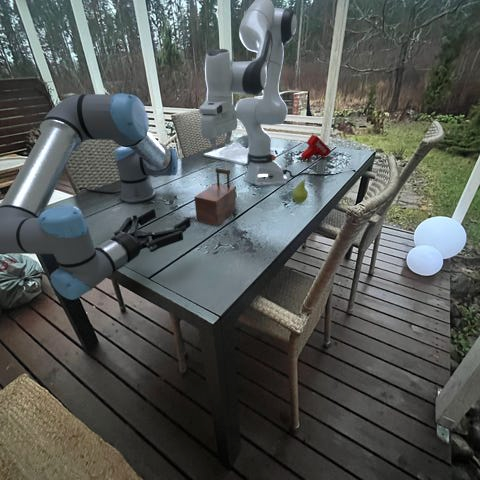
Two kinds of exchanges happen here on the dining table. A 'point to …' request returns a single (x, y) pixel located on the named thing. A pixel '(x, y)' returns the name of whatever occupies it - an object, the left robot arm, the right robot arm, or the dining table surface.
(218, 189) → the lid
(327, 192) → the dining table surface
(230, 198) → the chest
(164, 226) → the dining table surface
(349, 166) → the dining table surface
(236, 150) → the relief map
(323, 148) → the toy gun
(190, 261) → the dining table surface
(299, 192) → the fruit
